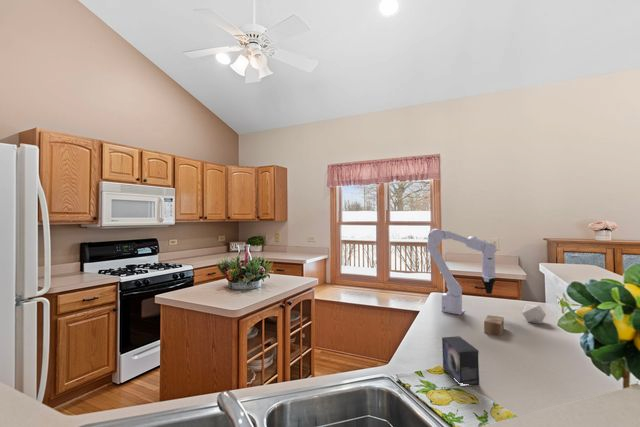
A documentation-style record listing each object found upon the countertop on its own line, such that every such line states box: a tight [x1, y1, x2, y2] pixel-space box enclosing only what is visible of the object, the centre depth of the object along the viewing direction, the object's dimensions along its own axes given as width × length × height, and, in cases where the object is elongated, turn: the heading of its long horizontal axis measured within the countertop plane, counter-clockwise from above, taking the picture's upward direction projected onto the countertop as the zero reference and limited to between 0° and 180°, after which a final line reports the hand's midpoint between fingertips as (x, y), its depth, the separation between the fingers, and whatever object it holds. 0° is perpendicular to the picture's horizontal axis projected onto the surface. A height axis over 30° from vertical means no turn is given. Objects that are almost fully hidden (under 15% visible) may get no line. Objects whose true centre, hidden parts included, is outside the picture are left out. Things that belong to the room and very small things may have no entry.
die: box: [521, 303, 547, 325], centre depth 136 cm, size 8×9×10 cm
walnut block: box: [483, 314, 505, 337], centre depth 126 cm, size 6×5×10 cm
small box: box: [441, 335, 480, 386], centre depth 91 cm, size 11×6×10 cm, turn 5°
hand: (489, 293), depth 147 cm, fingers closed
